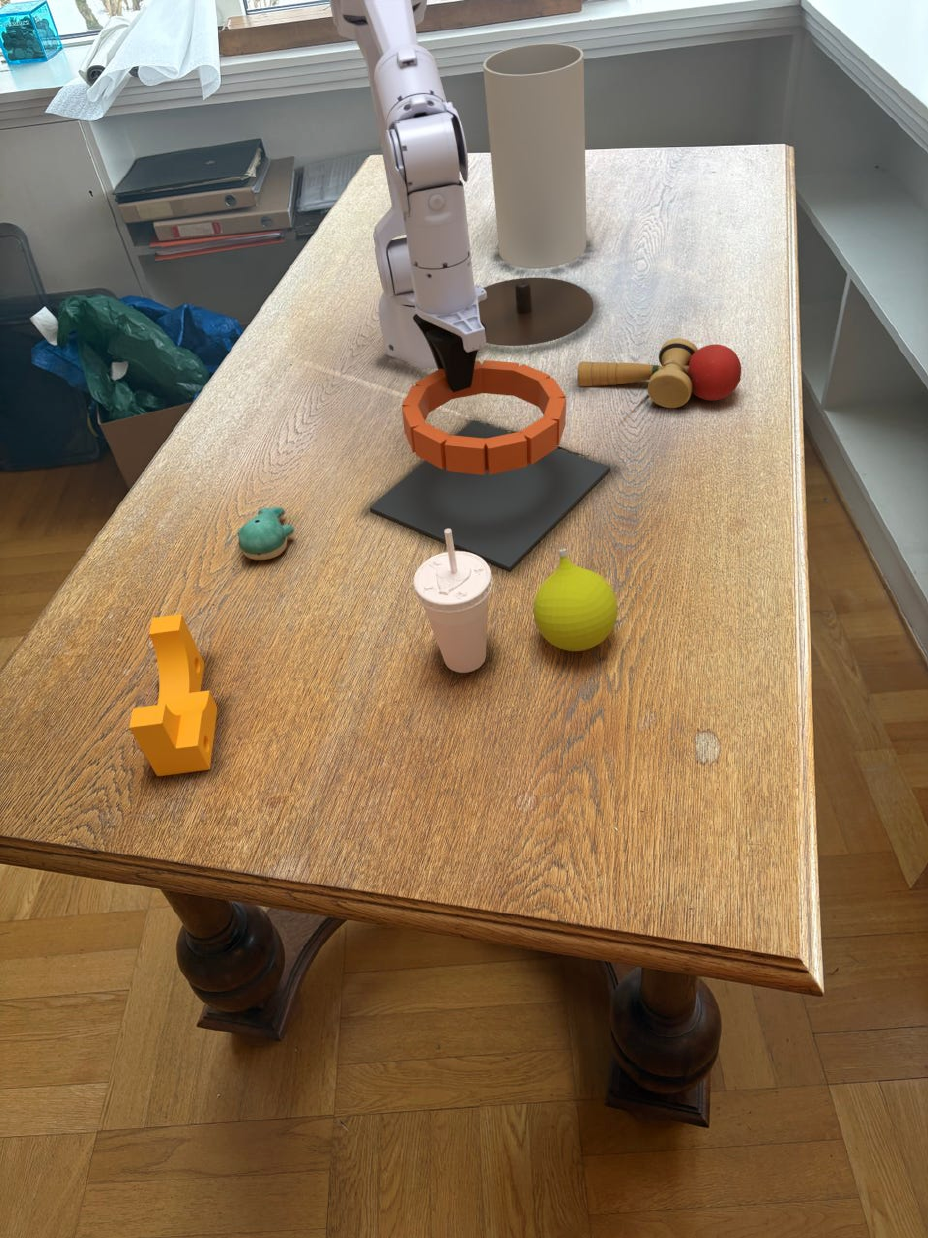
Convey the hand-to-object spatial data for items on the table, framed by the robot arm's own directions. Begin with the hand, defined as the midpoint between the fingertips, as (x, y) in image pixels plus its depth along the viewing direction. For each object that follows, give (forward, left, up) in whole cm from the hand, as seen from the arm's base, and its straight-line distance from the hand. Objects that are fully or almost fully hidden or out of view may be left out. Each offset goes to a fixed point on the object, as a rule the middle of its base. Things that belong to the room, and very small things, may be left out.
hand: (456, 382), depth 98 cm
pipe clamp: (+2, -42, -9) cm, 43 cm away
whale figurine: (-9, -22, -9) cm, 25 cm away
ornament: (+25, -17, -9) cm, 32 cm away
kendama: (+12, +20, -9) cm, 25 cm away
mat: (+6, -4, -9) cm, 12 cm away
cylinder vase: (-20, +44, -9) cm, 49 cm away
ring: (+6, -3, -1) cm, 7 cm away
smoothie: (+18, -24, -9) cm, 32 cm away
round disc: (-12, +28, -9) cm, 31 cm away
